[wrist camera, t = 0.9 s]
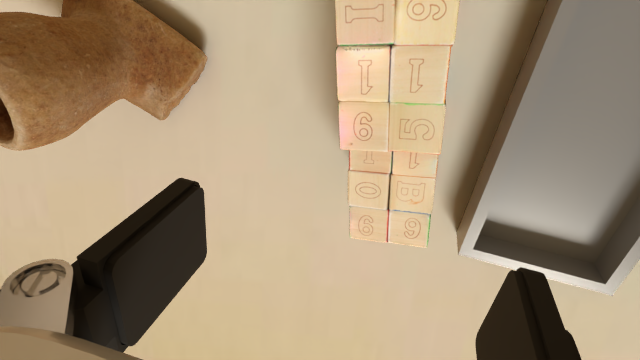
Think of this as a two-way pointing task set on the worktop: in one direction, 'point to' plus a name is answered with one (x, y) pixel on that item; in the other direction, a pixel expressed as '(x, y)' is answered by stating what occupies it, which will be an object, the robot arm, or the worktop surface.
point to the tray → (566, 153)
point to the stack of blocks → (392, 111)
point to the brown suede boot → (87, 68)
